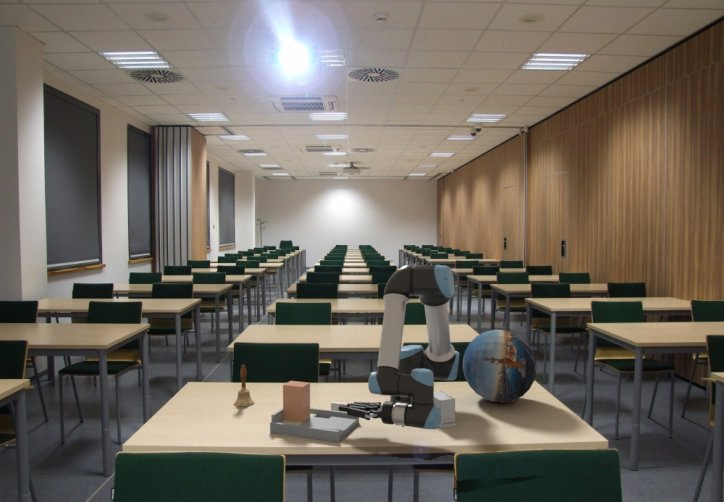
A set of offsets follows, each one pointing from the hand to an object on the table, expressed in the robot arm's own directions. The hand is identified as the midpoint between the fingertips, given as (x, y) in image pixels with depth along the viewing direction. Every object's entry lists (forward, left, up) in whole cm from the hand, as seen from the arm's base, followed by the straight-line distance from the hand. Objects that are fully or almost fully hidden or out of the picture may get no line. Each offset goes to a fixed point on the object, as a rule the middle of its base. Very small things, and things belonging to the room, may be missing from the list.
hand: (331, 405), depth 197 cm
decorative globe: (-68, -34, -9) cm, 76 cm away
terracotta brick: (+13, -5, -6) cm, 16 cm away
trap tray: (+6, -2, -8) cm, 11 cm away
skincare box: (-40, -7, -9) cm, 42 cm away
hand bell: (+38, -30, -9) cm, 49 cm away
